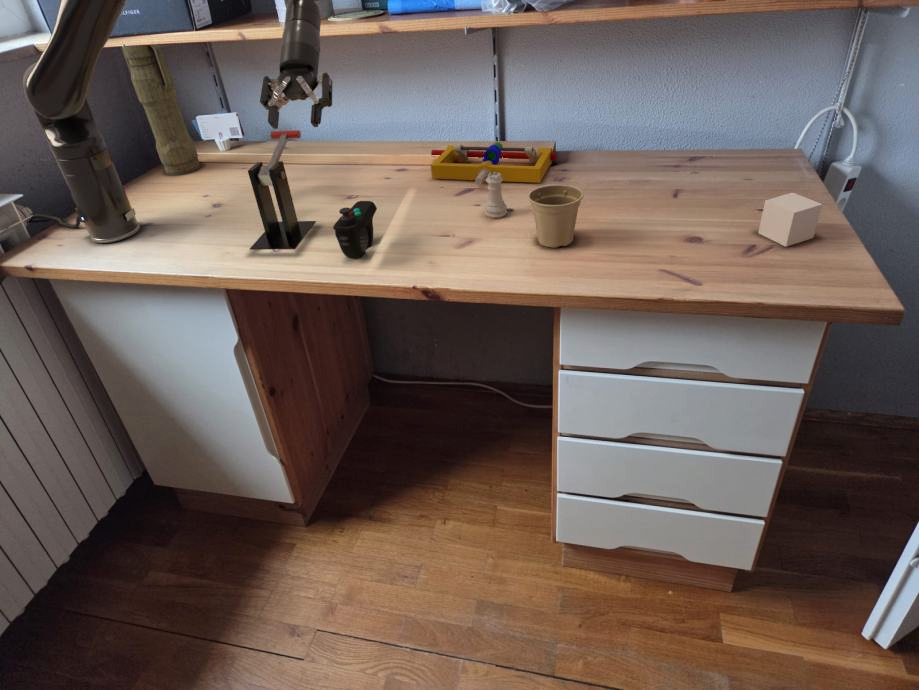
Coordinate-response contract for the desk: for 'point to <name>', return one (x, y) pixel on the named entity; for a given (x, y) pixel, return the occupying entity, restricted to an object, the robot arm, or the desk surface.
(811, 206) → the beige cube
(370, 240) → the controller
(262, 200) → the bracket
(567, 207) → the flower pot
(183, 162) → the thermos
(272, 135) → the lever
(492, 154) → the mechanical clamp
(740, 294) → the desk surface
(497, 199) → the rook chess piece
